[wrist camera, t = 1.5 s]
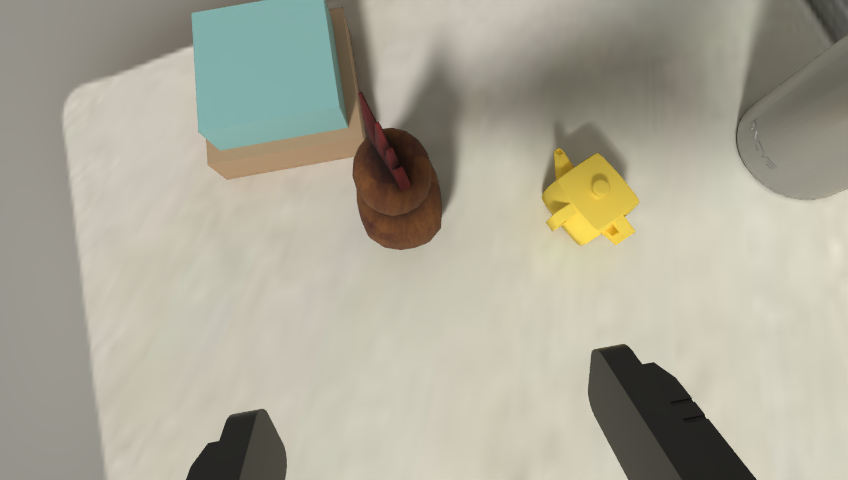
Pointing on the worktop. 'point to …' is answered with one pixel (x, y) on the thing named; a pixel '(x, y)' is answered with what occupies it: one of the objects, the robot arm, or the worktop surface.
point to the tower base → (275, 86)
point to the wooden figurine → (395, 186)
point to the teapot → (589, 200)
